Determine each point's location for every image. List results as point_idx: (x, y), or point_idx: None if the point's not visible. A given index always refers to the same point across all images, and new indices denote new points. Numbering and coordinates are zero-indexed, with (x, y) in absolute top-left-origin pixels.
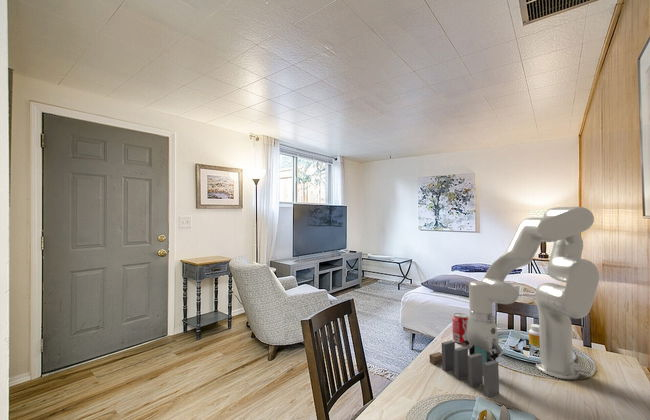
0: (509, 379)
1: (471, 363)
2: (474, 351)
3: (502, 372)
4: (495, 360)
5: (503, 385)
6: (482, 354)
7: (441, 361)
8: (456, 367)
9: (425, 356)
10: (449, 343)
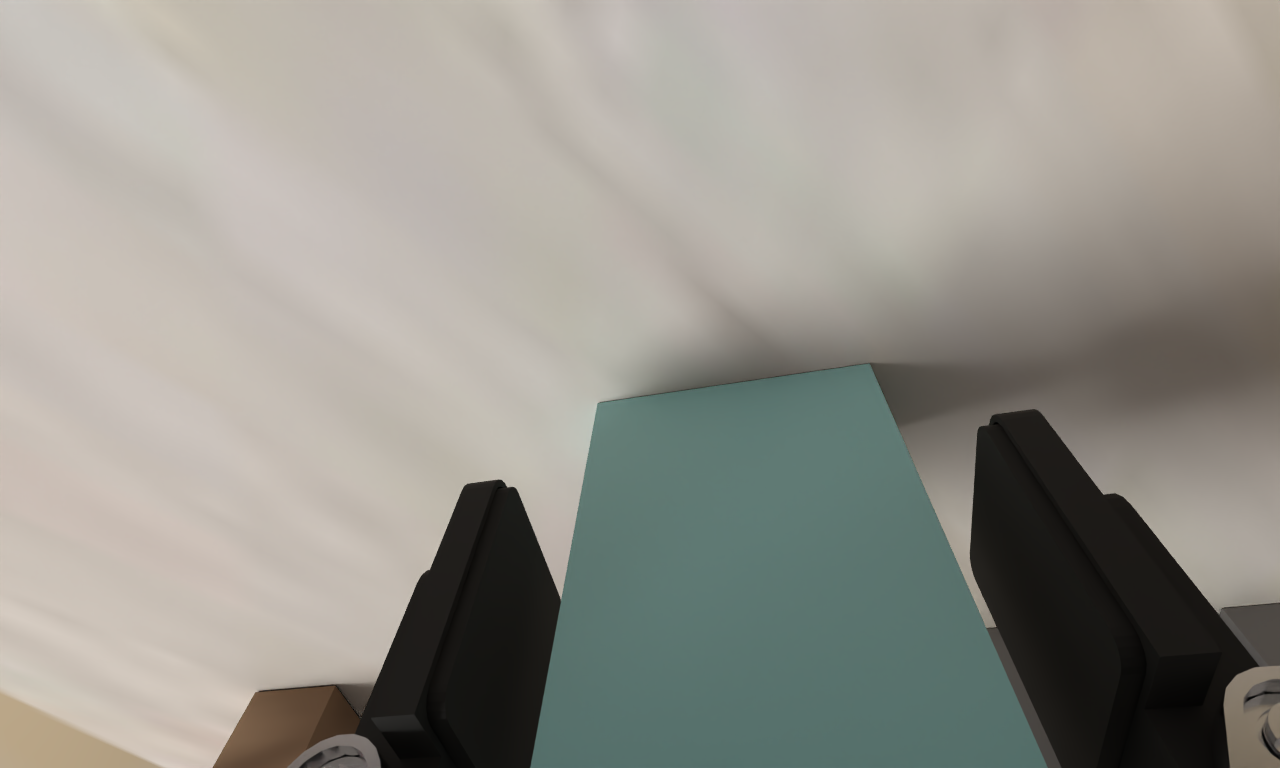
0: (1216, 119)
1: None
2: (489, 737)
3: (916, 13)
4: (1247, 654)
5: (1242, 407)
6: None
7: (347, 732)
8: None
9: (173, 760)
10: None
